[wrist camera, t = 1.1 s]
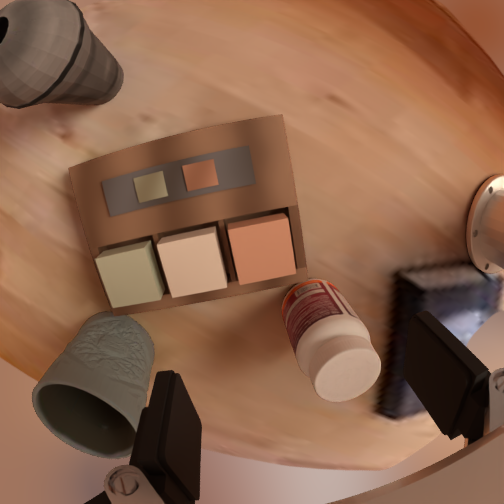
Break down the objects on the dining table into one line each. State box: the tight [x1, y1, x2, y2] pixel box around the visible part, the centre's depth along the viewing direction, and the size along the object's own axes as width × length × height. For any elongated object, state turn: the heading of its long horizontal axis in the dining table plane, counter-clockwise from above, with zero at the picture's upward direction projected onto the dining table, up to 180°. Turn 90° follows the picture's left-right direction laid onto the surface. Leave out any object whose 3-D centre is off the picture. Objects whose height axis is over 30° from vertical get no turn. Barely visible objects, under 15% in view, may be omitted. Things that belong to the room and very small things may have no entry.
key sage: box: [95, 240, 165, 308], centre depth 24 cm, size 4×4×2 cm
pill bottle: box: [282, 279, 381, 402], centre depth 25 cm, size 6×6×11 cm
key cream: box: [157, 226, 227, 298], centre depth 24 cm, size 4×4×2 cm
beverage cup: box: [0, 0, 124, 109], centre depth 13 cm, size 7×7×20 cm
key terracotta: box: [228, 213, 296, 285], centre depth 24 cm, size 4×4×2 cm
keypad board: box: [68, 114, 308, 317], centre depth 25 cm, size 18×14×3 cm
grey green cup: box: [32, 311, 154, 459], centre depth 25 cm, size 10×10×12 cm
